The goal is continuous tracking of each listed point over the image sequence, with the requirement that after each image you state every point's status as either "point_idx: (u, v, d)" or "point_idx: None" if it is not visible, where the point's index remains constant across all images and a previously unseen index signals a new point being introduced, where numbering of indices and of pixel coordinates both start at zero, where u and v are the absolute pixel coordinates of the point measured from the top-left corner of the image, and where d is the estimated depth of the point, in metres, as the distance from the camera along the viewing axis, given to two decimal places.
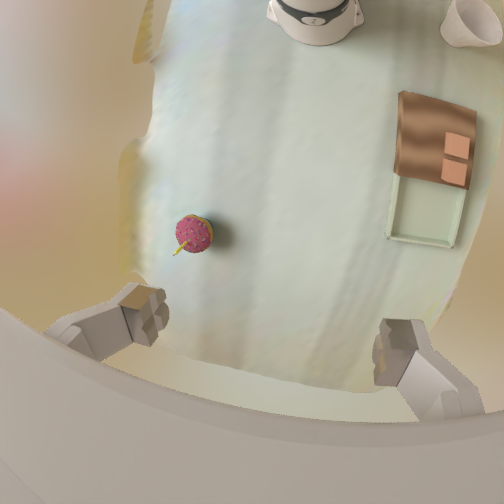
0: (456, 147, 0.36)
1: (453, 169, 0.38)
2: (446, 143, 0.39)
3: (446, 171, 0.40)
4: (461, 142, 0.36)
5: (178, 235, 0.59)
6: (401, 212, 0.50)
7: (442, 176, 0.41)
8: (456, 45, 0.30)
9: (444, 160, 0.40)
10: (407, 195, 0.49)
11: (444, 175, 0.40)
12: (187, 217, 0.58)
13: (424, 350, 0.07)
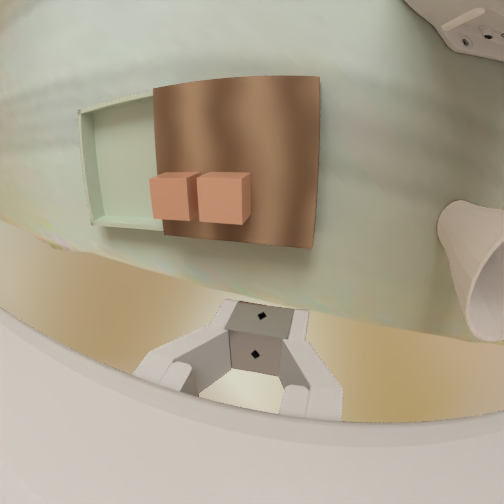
0: (214, 191, 0.23)
1: (172, 189, 0.24)
2: (227, 172, 0.25)
3: (170, 175, 0.25)
4: (227, 202, 0.24)
5: None
6: (118, 122, 0.29)
7: (166, 173, 0.26)
8: (442, 226, 0.24)
9: (194, 172, 0.26)
10: (141, 124, 0.29)
11: (164, 175, 0.25)
12: None
13: (293, 340, 0.08)
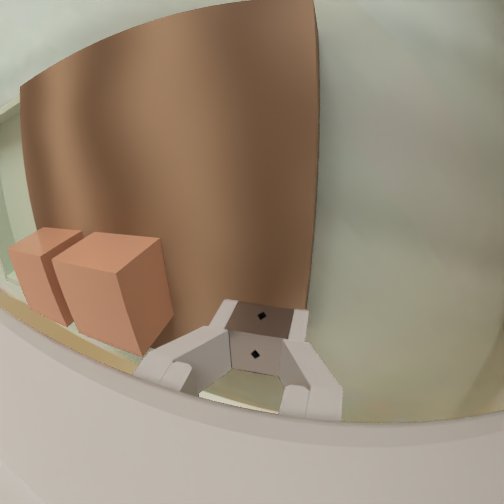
0: (80, 289, 0.10)
1: (31, 272, 0.11)
2: (115, 238, 0.11)
3: (33, 243, 0.11)
4: (105, 314, 0.10)
5: None
6: (14, 141, 0.16)
7: (40, 231, 0.13)
8: None
9: (70, 234, 0.12)
10: None
11: (31, 239, 0.12)
12: None
13: (293, 340, 0.08)
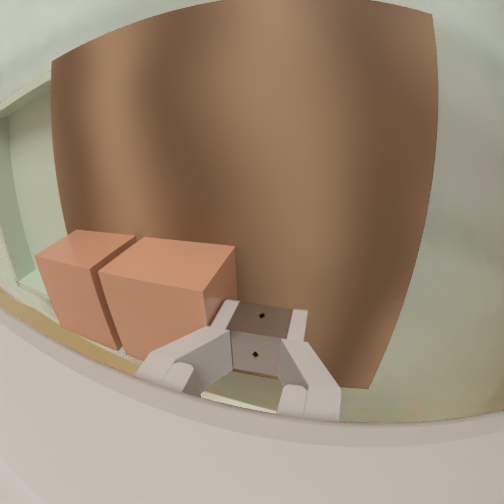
0: (140, 308, 0.09)
1: (72, 286, 0.09)
2: (177, 246, 0.10)
3: (71, 249, 0.10)
4: (173, 337, 0.09)
5: None
6: (31, 130, 0.14)
7: (75, 234, 0.11)
8: None
9: (121, 239, 0.11)
10: None
11: (65, 244, 0.10)
12: None
13: (291, 340, 0.08)
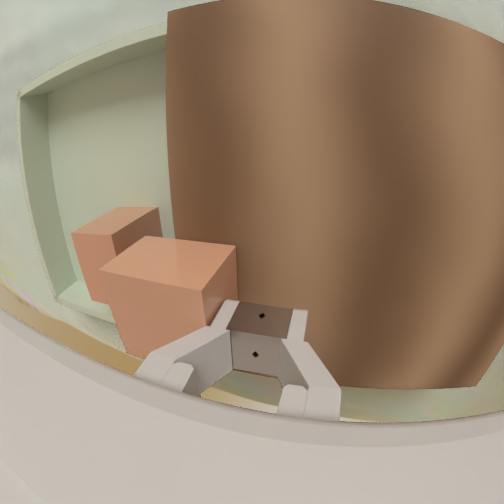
0: (140, 307, 0.09)
1: None
2: (178, 245, 0.10)
3: (111, 217, 0.13)
4: (173, 336, 0.09)
5: None
6: (87, 109, 0.13)
7: (144, 209, 0.14)
8: None
9: (108, 231, 0.11)
10: (133, 109, 0.12)
11: (125, 212, 0.14)
12: None
13: (291, 340, 0.08)
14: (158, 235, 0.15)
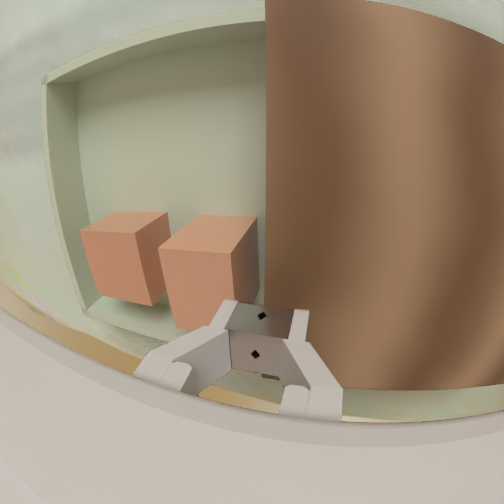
0: (244, 261, 0.12)
1: None
2: (190, 230, 0.12)
3: (130, 217, 0.14)
4: (252, 268, 0.13)
5: None
6: (131, 100, 0.12)
7: (133, 228, 0.12)
8: None
9: (90, 227, 0.13)
10: (193, 103, 0.12)
11: (138, 220, 0.13)
12: None
13: (293, 340, 0.08)
14: (135, 262, 0.13)
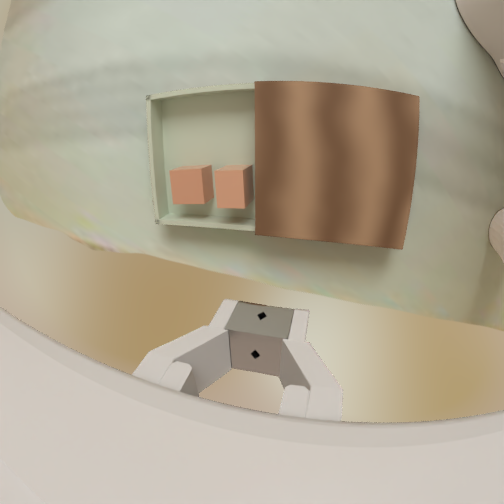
0: (247, 178, 0.29)
1: None
2: (225, 167, 0.29)
3: (193, 166, 0.31)
4: (250, 185, 0.30)
5: None
6: (195, 113, 0.29)
7: (198, 168, 0.29)
8: (495, 230, 0.24)
9: (174, 169, 0.30)
10: (225, 117, 0.29)
11: (199, 166, 0.31)
12: None
13: (293, 340, 0.08)
14: (199, 182, 0.30)
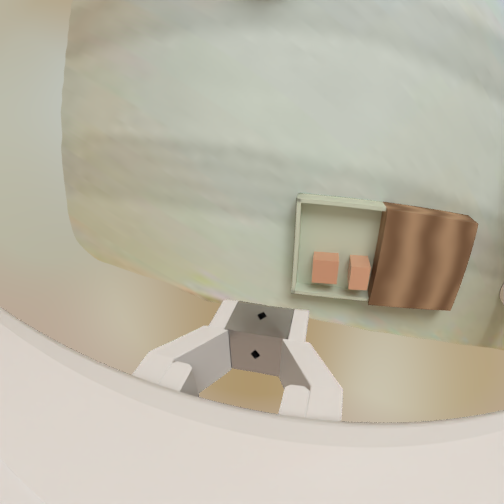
0: None
1: None
2: (354, 260, 0.41)
3: (327, 255, 0.43)
4: None
5: None
6: (331, 214, 0.41)
7: (335, 259, 0.42)
8: None
9: (315, 258, 0.42)
10: (354, 221, 0.41)
11: (332, 256, 0.43)
12: None
13: (293, 340, 0.08)
14: (335, 270, 0.42)
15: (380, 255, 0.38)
